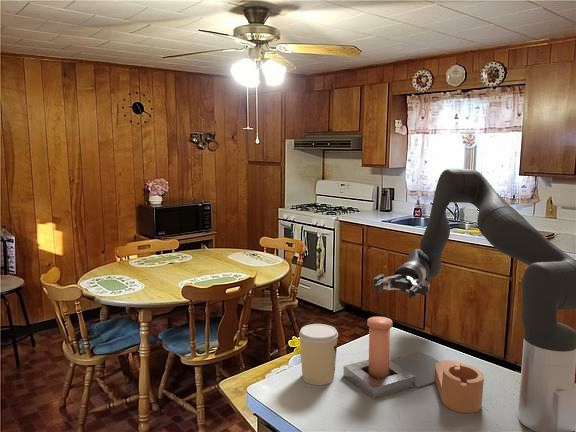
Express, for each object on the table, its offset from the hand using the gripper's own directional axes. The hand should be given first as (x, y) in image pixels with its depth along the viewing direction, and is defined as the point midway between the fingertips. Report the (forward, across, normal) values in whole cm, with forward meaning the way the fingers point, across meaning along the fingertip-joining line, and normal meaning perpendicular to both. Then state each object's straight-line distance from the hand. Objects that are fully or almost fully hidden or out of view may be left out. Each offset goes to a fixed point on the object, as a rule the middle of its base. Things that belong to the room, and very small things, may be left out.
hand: (393, 291), depth 116 cm
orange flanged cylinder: (+11, 0, +19) cm, 22 cm away
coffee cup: (+17, -13, +19) cm, 29 cm away
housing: (+11, 0, +19) cm, 22 cm away
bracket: (+7, +17, +19) cm, 27 cm away
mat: (0, +8, +19) cm, 20 cm away
